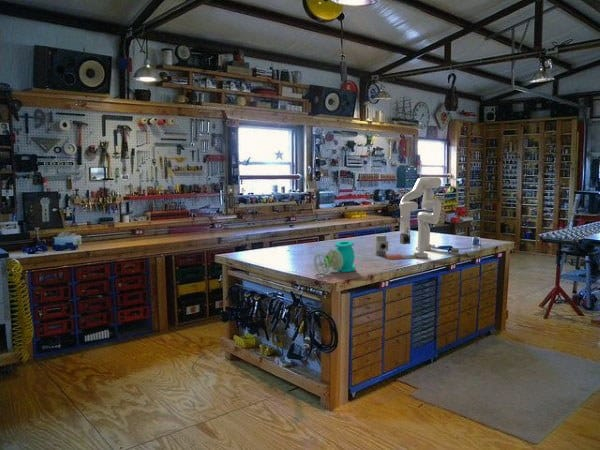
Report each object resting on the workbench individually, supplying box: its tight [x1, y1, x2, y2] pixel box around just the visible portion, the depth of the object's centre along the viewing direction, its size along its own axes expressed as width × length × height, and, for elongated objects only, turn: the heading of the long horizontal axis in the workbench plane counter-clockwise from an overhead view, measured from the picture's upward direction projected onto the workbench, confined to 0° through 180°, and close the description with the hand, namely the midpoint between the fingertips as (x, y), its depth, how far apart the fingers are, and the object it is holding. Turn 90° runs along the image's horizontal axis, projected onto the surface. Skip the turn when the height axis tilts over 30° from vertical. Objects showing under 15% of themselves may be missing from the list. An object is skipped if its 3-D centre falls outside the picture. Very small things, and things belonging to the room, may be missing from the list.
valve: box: [313, 240, 357, 276], centre depth 325 cm, size 14×18×30 cm
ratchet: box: [384, 248, 429, 260], centre depth 376 cm, size 33×10×7 cm, turn 101°
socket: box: [399, 233, 411, 245], centre depth 389 cm, size 6×6×7 cm
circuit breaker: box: [372, 234, 389, 256], centre depth 389 cm, size 8×14×15 cm, turn 11°
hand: (405, 241), depth 390 cm, fingers closed on socket, 6 cm apart
